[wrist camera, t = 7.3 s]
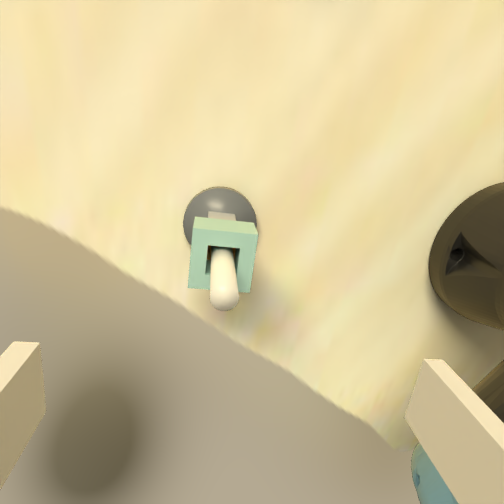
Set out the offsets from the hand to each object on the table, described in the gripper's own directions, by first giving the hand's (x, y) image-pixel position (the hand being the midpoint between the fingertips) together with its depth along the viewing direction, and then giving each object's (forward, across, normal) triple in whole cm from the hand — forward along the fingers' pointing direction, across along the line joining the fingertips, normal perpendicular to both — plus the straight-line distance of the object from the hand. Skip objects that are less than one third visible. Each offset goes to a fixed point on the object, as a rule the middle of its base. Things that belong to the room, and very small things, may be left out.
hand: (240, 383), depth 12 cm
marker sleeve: (+16, 0, +1) cm, 16 cm away
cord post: (+23, 0, +1) cm, 23 cm away
